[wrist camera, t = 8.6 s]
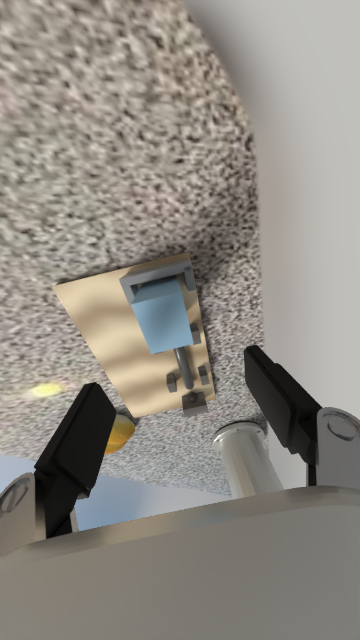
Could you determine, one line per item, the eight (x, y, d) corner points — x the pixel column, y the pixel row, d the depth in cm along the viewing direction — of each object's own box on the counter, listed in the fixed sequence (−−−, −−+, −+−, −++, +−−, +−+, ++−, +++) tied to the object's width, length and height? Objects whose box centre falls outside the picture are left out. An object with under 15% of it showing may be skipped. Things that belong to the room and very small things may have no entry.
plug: (200, 381, 26) (212, 424, 20) (178, 386, 26) (182, 431, 20) (175, 274, 18) (181, 291, 11) (142, 283, 18) (130, 304, 12)
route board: (215, 397, 30) (220, 415, 27) (136, 416, 30) (132, 435, 27) (188, 251, 17) (193, 253, 14) (56, 285, 18) (33, 293, 15)
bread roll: (141, 417, 31) (138, 440, 27) (122, 439, 34) (117, 463, 30) (101, 405, 28) (92, 429, 25) (84, 431, 31) (73, 455, 27)
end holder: (191, 283, 18) (195, 289, 16) (134, 297, 18) (129, 305, 16) (186, 258, 17) (190, 261, 14) (125, 273, 17) (118, 279, 14)
